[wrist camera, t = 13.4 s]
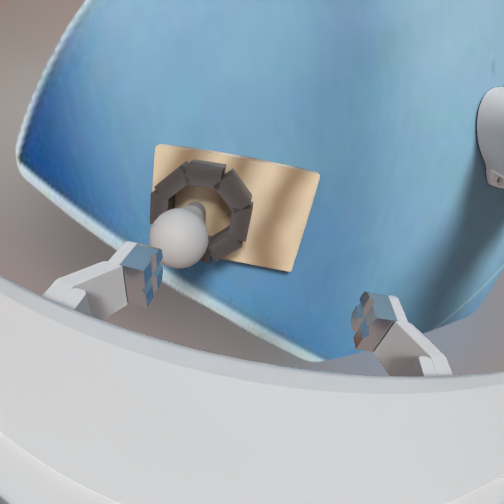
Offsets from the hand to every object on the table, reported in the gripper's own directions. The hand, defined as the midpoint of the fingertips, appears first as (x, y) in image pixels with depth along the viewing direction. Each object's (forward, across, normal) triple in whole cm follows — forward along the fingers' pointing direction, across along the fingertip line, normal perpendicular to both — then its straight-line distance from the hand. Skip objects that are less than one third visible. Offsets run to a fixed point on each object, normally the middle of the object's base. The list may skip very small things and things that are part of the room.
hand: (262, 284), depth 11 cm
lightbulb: (+23, +8, +8) cm, 26 cm away
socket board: (+24, +5, +8) cm, 26 cm away
